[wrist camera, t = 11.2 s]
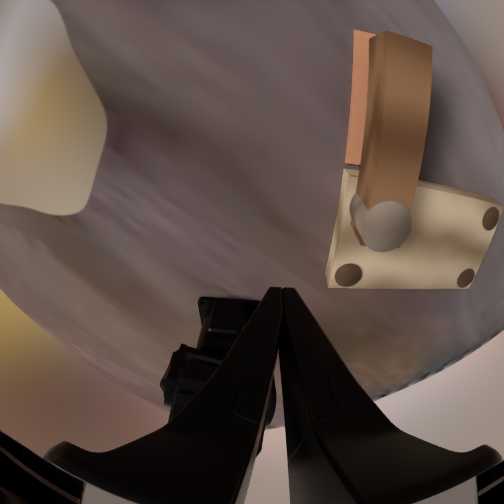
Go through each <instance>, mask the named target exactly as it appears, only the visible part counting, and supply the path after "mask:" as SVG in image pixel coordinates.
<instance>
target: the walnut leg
mask: <svg viewBox="0 0 504 504" xmlns="http://www.w3.org/2000/svg"><path fill="white" fill-rule="evenodd" d="M431 82H432V46H430V45H427V44H425V43H422V42H419V41H417V40H414V39H411V38H408V37H405V36H402V35H399V34H396V33H392V32H389V31H385V32H383V33H380V34H378V35H376V36H374V37H371V38H369V71H368V91H367V106H366V118H365V128H364V137H363V146H362V154H361V162H360V169H359V176H358V182H357V188H356V193H355V194H354V195H353V197H352V199H351V202H350V207H349V210H350V215H351V222H350V224H351V226H352V228H353V230H354V233H355V235H356V237H357V239H358V241H359V243H360V245H361V246H367V247H368V248H370V249H371V250H373V251H376V252H388V251H391V250H394V249H396V248H400V246H401V245H402V244H403V243H404V241H405V240H406V239H407V237H408V236H409V234H410V231H411V227H412V220H411V215H410V212H411V208H412V204H413V200H414V196H415V192H416V188H417V183H418V178H419V174H420V169H421V164H422V158H423V153H424V147H425V140H426V133H427V126H428V118H429V109H430V97H431Z"/></svg>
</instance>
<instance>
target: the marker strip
mask: <svg viewBox="0 0 504 504" xmlns="http://www.w3.org/2000/svg"><path fill="white" fill-rule="evenodd" d="M374 36H376V35H375V34H371V33H367V32H363V31H358V30H354V45H353V75H352V92H351V106H350V118H349V128H348V138H347V147H346V155H345V163H348V164H356V165H360V162H361V154H362V146H363V137H364V128H365V118H366V106H367V91H368V71H369V38H371V37H374Z"/></svg>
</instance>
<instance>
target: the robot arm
mask: <svg viewBox="0 0 504 504" xmlns="http://www.w3.org/2000/svg"><path fill="white" fill-rule="evenodd" d="M202 301H203V302H202ZM255 305H257V306H255ZM198 307H199V313H200V318H201V324H202V328H201V332H200V336H199V339H198V343H197V347H196V348H192V347H188V346H187V345H185V344H181V346H180V348H179V350H177V351H176V352H173V354H172V357H171V361H170V364H169V366H168V368H167V370H166V372H165V374H164V376H163V378H162V380H161V383H160V387H161V389H162V391H163V392H164V398H165V399H164V405H165V406H168V407H171V410H170V415H169V420H168V423H167V424H166V425H165V426H163V427H162V428H160V429H158V430H156V431H154V432H152V433H150V434H148V435H146V436H143V437H141V438H139V439H137V440H135V441H132V442H130V443H128V444H125V445H123V446H121V447H118V448H116V449H113V450H110V451H107V452H100V453H97V452H90V451H87V450H84V449H82V448H80V447H78V446H76V445H74V444H71V443H69V442H66V441H62V442H61V443H59V444H57V445H55V446H53V447H52V448H50V449H49V450H48V451H47V452H46V453H45V454H44V456H43V458H42V457H41V456H39V455H38V454H36V453H35V452H33V451H32V450H30V449H29V448H27V447H25V446H24V445H22V444H21V443H20V442H18V441H17V440H15V439H13V438H12V437H10V436H9V435H7V434H6V433H4V432H3V431H2V430H0V504H244V501H245V497H246V494H247V489H248V486H249V482H250V478H251V474H252V471H253V466H254V462H255V458H256V457H257V455H258V454H259V453H260V452H261V449H262V442H263V435H264V431H265V426H268V425H269V424H270V423H271V421H272V419H273V416H274V412H275V408H276V388H275V380H274V370H275V365H276V359H277V353H278V347H279V361H280V372H281V383H282V395H283V407H284V419H285V432H286V445H287V457H288V458H287V459H288V473H289V489H290V504H504V460H503V461H501V460H502V457H501V455H500V454H499V452H497V451H496V450H495V449H493V448H492V447H490V446H488V445H482V446H480V447H477V448H476V449H473V450H471V451H468V452H463V453H462V452H454V451H450V450H447V449H444V448H442V447H439V446H436V445H433V444H431V443H429V442H426V441H424V440H421V439H419V438H417V437H414V436H412V435H410V434H407V433H405V432H403V431H402V430H400V429H399V428H397V427H396V426H395V425H394V424H393V423H391V422H390V420H389V419H388V418H387V417H386V416H385V415H384V413H383V412H382V411H381V410H380V409H379V408H378V406H377V405H376V404H375V403H374V402H373V400H372V399H371V398H370V397H369V396H368V394H367V393H366V392H365V391H364V390H363V388H362V387H361V386H360V385H359V383H358V382H357V381H356V379H355V378H354V377H353V375H352V374H351V372H350V371H349V369H348V368H347V366H346V365H345V363H344V362H343V360H341V357H340V356H339V354H338V353H337V351H336V349H335V348H334V346H333V345H332V343H331V342H330V340H329V339H328V337H327V336H326V334H325V333H324V331H323V330H322V328H321V327H320V325H319V324H318V322H317V321H316V319H315V318H314V316H313V315H312V313H311V312H310V310H309V309H308V307H307V306H306V304H305V303H304V301H303V300H302V298H301V297H300V295H299V294H298V292H297V291H296V289H295V288H286V287H284V288H283V289H282V288H281V287H270V288H269V289H268V291H267V292H266V294H265V295H264V297H263V299H262V300H261V302H259V301H252V300H236V299H222V298H210V297H200V298H199V300H198ZM500 461H501V462H500ZM83 481H84V482H83Z"/></svg>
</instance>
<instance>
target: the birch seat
mask: <svg viewBox="0 0 504 504" xmlns="http://www.w3.org/2000/svg"><path fill="white" fill-rule="evenodd" d="M358 176H359V170H354V169H345V168H344V171H343V178H342V185H341V191H340V198H339V204H338V210H337V216H336V222H335V227H334V232H333V238H332V243H331V248H330V253H329V258H328V263H327V267H326V272H325V274H326V279H327V284H328V287H329V288H366V289H469V287H470V285H471V283H472V281H473V279H474V277H475V275H476V273H477V271H478V269H479V267H480V265H481V263H482V261H483V258H484V256H485V254H486V252H487V249H488V247H489V245H490V242H491V240H492V237H493V235H494V232H495V230H496V227H497V224H498V221H499V219H500V216H501V213H502V210H503V207H504V206H502V205H501V204H500V203H499V202H497V201H496V200H495V199H494V198H492V197H489V196H485V195H482V194H478V193H474V192H470V191H467V190H463V189H459V188H454V187H450V186H446V185H441V184H437V183H432V182H427V181H422V180H418V183H417V188H416V192H415V196H414V200H413V204H412V208H411V212H410V215H411V220H412V227H411V231H410V234H409V236H408V237H407V239H406V240H405V241H404V243H403V244H402V245H401V246H400V248H396V249H394V250H391V251H388V252H376V251H373V250H371V249H370V248H368V247H367V246H361V245H360V243H359V241H358V239H357V237H356V235H355V233H354V230H353V228H352V226H351V224H350V222H351V215H350V210H349V207H350V202H351V199H352V197H353V195H354V194H355V193H356V188H357V182H358Z"/></svg>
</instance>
